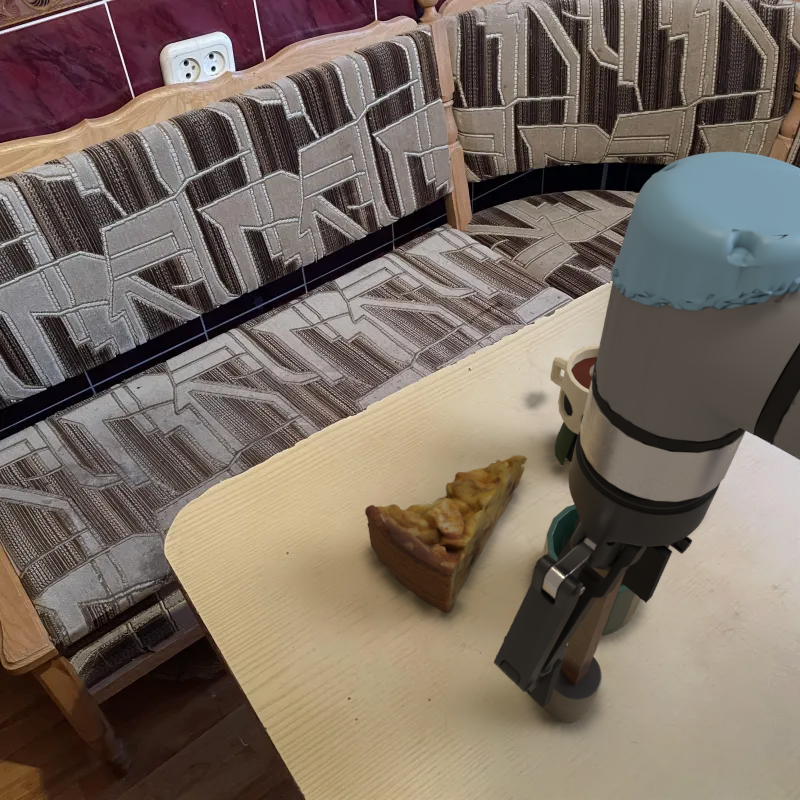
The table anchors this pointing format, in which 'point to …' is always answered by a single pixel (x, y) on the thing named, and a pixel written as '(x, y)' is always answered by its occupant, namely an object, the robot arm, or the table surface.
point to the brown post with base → (581, 663)
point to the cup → (554, 546)
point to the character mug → (572, 396)
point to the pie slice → (444, 531)
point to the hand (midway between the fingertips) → (585, 636)
